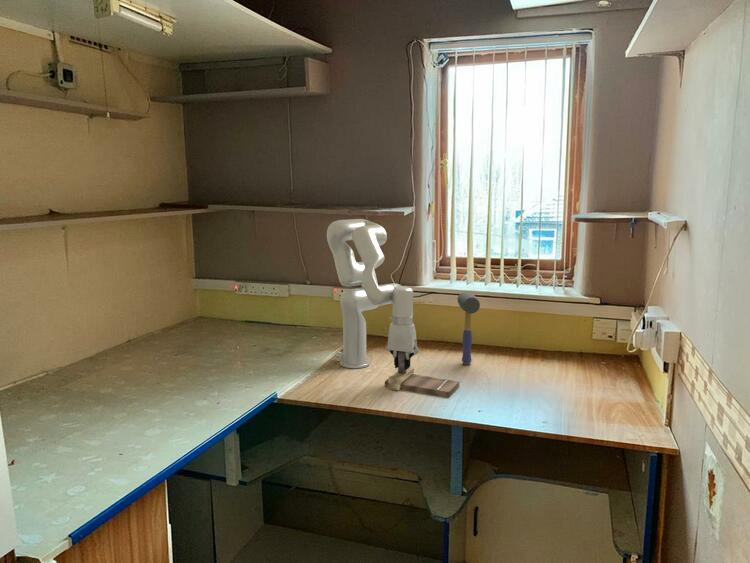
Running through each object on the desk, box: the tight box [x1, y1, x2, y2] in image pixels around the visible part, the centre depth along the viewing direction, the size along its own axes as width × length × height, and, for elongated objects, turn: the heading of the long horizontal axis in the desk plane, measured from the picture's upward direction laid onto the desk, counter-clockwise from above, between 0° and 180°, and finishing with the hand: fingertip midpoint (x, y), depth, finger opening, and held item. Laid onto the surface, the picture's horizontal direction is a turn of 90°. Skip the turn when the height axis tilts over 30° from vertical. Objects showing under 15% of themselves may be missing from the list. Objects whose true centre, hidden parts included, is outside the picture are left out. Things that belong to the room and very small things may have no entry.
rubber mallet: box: [457, 291, 481, 365], centre depth 236 cm, size 12×8×30 cm, turn 4°
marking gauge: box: [388, 351, 415, 391], centre depth 215 cm, size 4×15×12 cm, turn 155°
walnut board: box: [384, 373, 460, 398], centre depth 213 cm, size 25×12×2 cm, turn 65°
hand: (402, 367), depth 215 cm, fingers closed on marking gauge, 3 cm apart
